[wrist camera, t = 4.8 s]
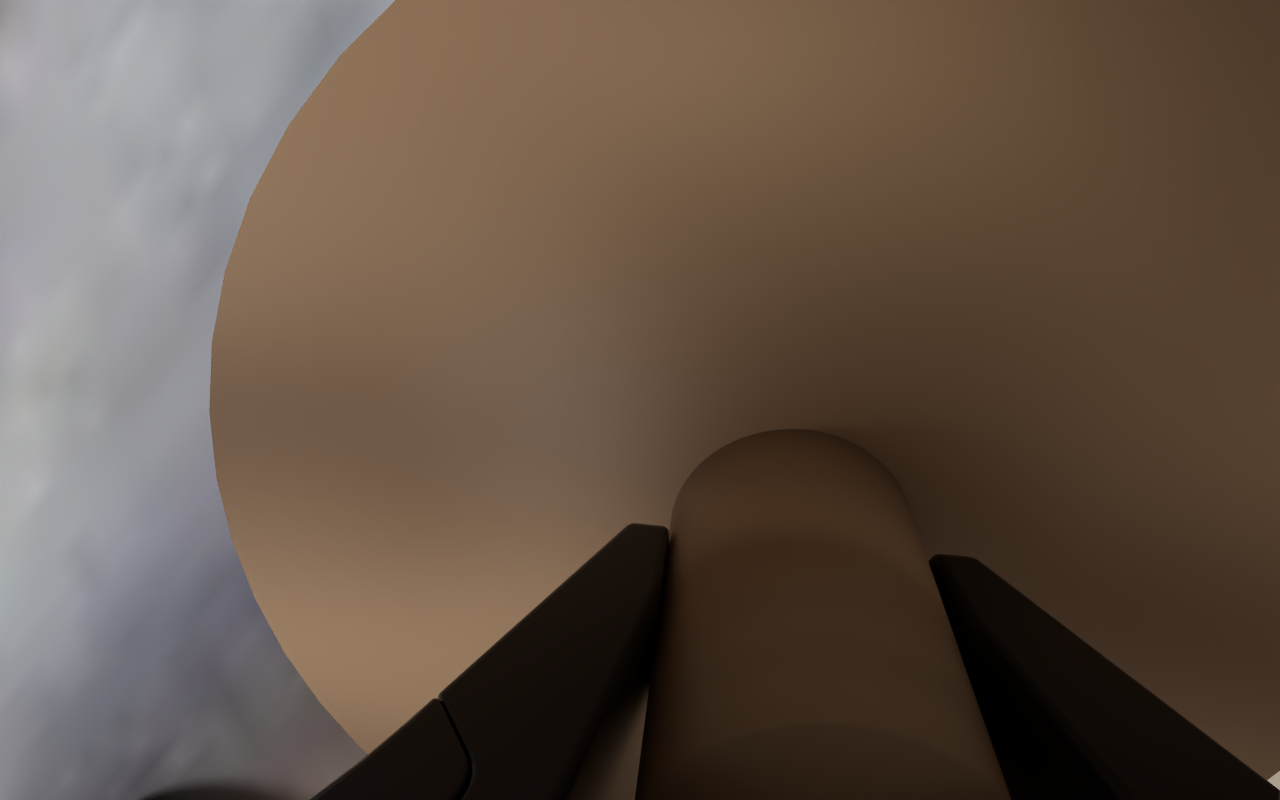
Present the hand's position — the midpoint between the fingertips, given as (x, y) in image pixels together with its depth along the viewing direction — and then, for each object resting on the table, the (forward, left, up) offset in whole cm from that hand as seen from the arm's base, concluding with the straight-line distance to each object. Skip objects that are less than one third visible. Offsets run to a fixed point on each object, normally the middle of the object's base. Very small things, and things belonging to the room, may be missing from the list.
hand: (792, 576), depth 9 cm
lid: (0, 0, -2) cm, 2 cm away
